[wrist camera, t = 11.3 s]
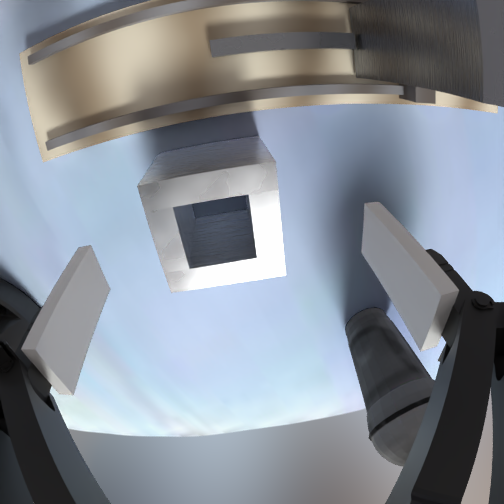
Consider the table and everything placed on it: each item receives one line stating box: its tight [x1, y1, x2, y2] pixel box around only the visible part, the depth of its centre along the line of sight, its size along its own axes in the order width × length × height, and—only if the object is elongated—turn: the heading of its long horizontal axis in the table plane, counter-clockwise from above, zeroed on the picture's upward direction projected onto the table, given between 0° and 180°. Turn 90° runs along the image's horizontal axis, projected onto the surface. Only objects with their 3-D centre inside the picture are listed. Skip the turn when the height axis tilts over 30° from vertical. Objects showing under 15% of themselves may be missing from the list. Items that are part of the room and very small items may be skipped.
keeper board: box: [19, 0, 498, 162], centre depth 12 cm, size 34×8×9 cm, turn 97°
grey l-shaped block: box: [209, 0, 504, 107], centre depth 10 cm, size 11×5×10 cm, turn 97°
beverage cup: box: [345, 308, 435, 466], centre depth 21 cm, size 7×7×20 cm
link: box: [137, 136, 285, 293], centre depth 18 cm, size 6×6×6 cm
